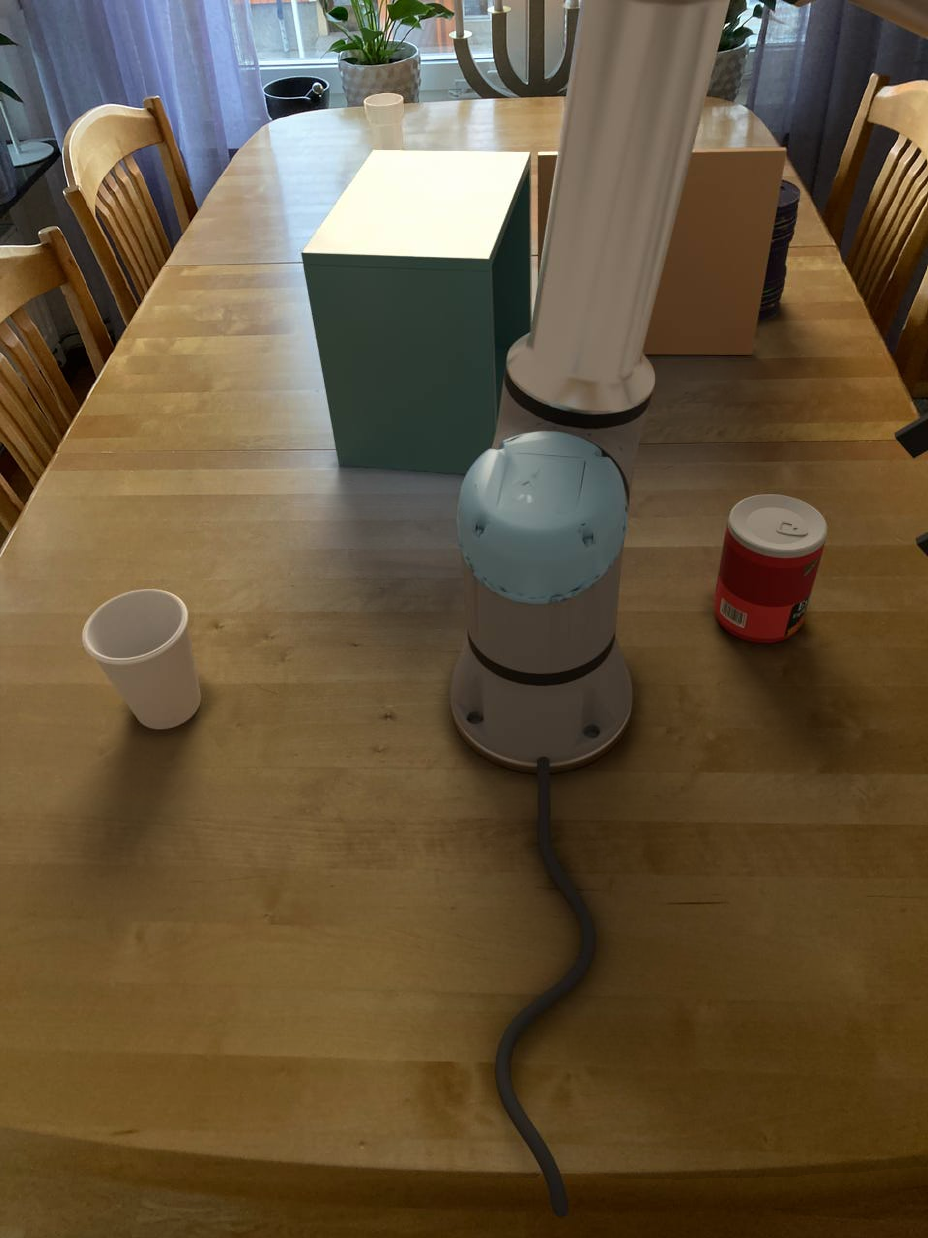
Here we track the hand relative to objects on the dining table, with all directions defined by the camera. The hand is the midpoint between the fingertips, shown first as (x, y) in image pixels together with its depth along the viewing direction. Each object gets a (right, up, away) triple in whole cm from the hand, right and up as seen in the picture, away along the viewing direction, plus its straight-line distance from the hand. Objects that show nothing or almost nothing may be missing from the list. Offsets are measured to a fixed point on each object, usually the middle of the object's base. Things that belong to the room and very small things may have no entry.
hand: (913, 496), depth 76 cm
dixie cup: (-61, -17, +8) cm, 64 cm away
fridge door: (-13, +26, +47) cm, 55 cm away
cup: (-48, +70, +95) cm, 127 cm away
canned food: (-9, -9, +12) cm, 18 cm away
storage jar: (+2, +32, +53) cm, 62 cm away
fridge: (-38, +16, +40) cm, 57 cm away
